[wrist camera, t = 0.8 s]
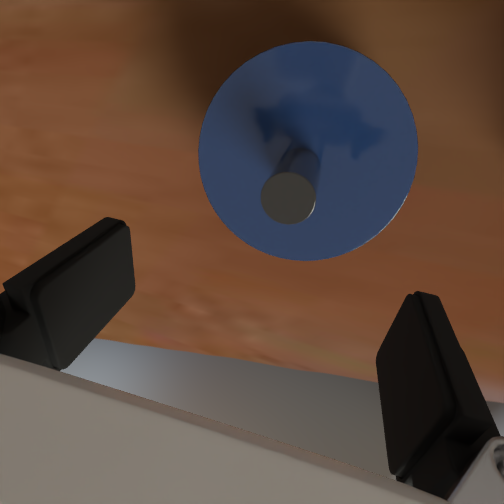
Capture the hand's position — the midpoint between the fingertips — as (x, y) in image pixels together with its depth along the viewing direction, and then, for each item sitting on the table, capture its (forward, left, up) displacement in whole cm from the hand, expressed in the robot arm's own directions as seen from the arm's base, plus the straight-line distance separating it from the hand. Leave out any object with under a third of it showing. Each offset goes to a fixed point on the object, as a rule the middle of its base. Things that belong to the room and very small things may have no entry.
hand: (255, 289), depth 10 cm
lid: (0, 0, -14) cm, 14 cm away
